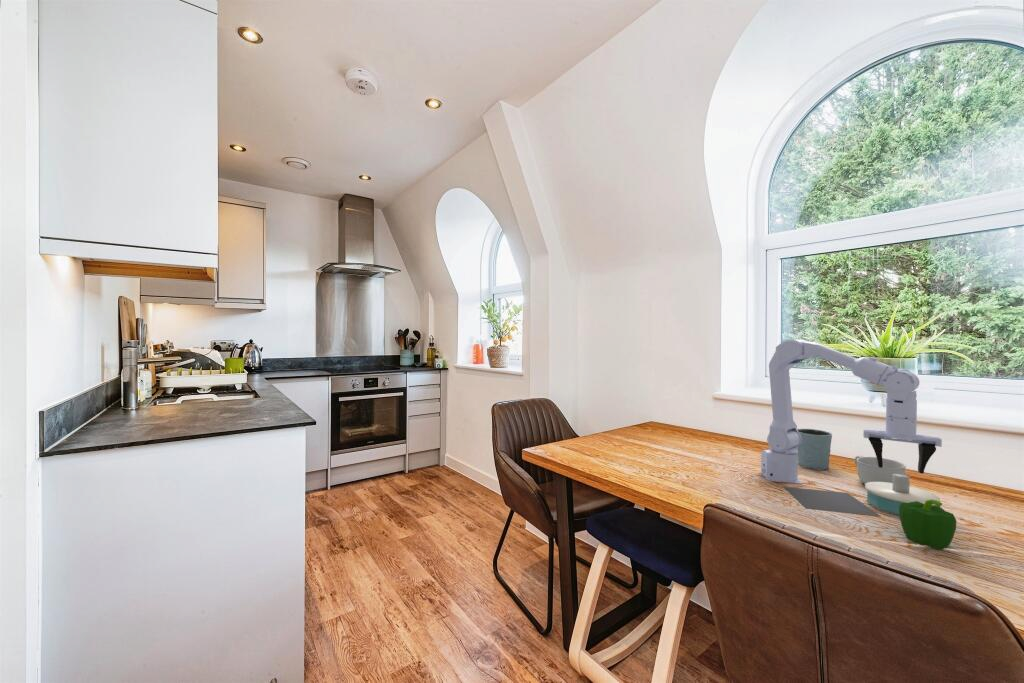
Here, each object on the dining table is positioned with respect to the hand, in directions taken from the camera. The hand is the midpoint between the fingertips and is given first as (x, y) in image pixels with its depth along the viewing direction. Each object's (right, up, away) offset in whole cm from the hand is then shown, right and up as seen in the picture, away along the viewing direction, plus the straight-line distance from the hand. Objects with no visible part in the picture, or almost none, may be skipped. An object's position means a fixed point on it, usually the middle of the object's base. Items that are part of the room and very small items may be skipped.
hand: (900, 469), depth 105 cm
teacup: (+9, -11, +17) cm, 22 cm away
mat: (-15, -10, +4) cm, 19 cm away
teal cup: (+4, -10, +36) cm, 38 cm away
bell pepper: (-11, -11, -18) cm, 24 cm away
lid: (0, -6, 0) cm, 6 cm away
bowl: (0, -10, 0) cm, 10 cm away
